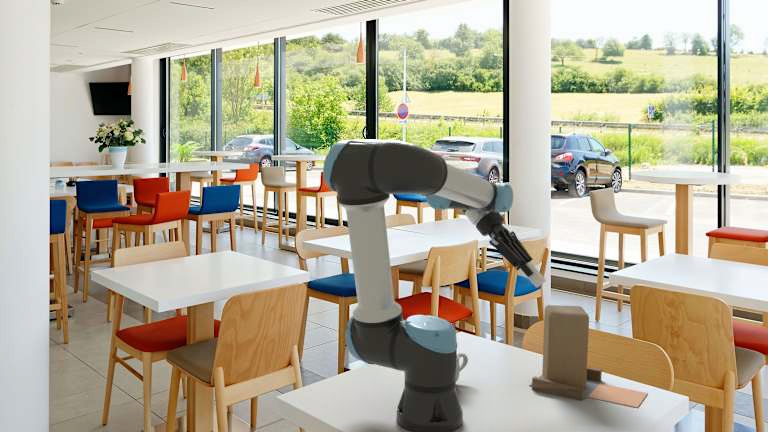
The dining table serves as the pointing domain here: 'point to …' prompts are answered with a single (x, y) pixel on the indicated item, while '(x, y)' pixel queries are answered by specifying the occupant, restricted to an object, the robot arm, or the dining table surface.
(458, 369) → the teacup
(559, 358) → the wooden block
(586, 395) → the grey square panel
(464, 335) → the dining table surface
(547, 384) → the lane rails
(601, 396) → the tile
